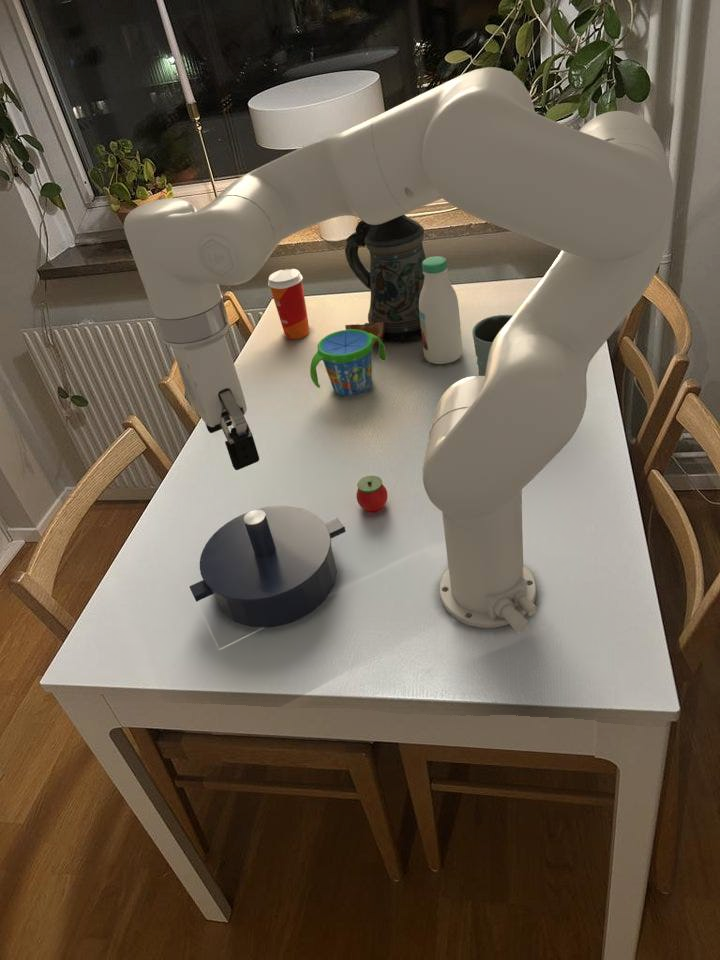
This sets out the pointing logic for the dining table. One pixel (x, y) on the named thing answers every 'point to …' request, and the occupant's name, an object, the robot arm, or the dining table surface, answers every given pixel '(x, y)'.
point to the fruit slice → (370, 329)
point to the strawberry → (371, 494)
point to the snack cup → (347, 360)
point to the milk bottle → (439, 314)
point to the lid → (265, 554)
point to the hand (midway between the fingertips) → (233, 445)
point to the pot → (282, 607)
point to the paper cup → (290, 302)
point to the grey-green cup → (487, 338)
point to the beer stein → (391, 274)
